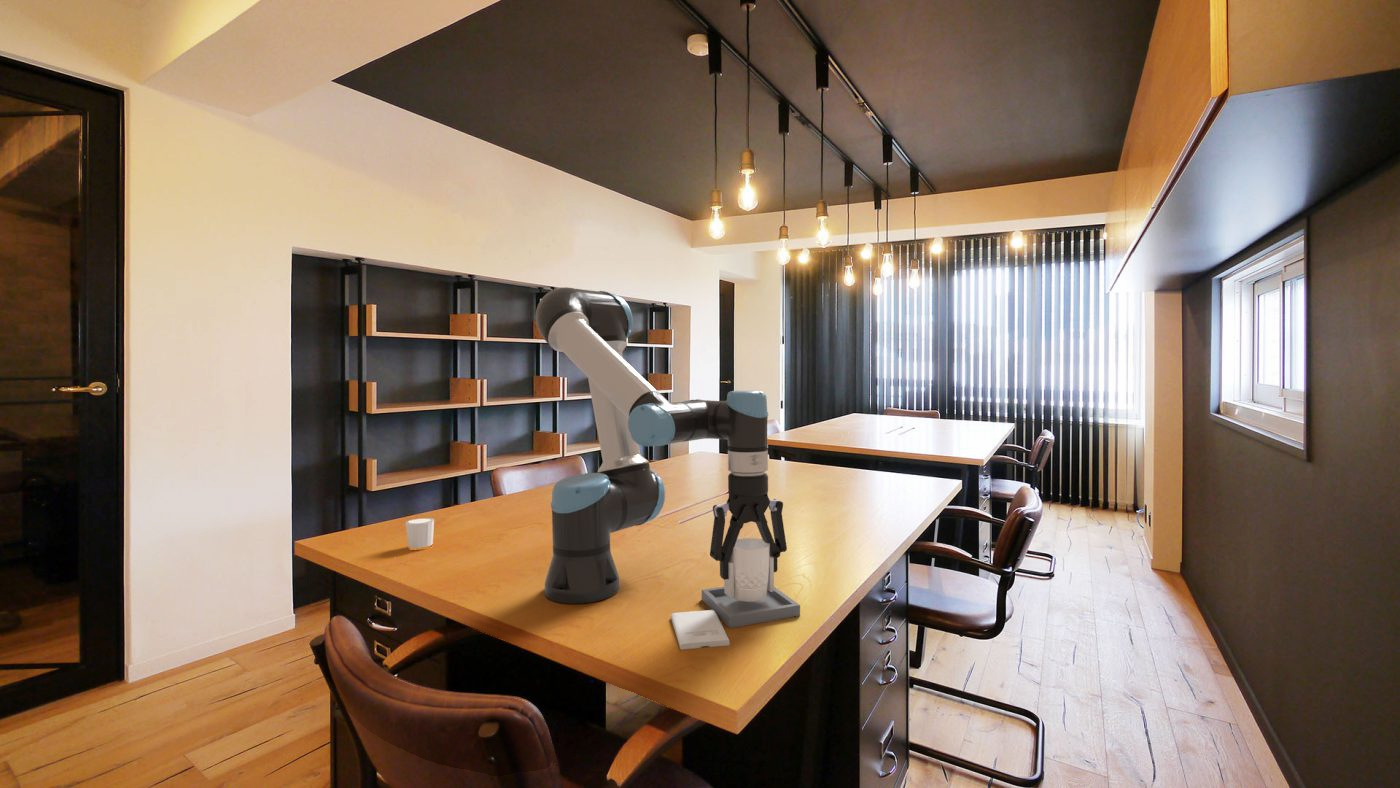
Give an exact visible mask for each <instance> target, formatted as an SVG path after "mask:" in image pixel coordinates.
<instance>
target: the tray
mask: <svg viewBox="0 0 1400 788" xmlns="http://www.w3.org/2000/svg"><path fill="white" fill-rule="evenodd" d="M701 601H702V602H704V603H705V605H706V606H707V607H708V608H709V610H714V611H715V612H716V614H717V616H718V618H719V620H721V621H722V622H723V623H724V624H725V625H726V626H727V627H728V628H729V629H732V628H737V627H743V626H748V625H754V624H755V625H756V624H760V623H768V622H771V621H778V620H779V621H780V620H785V619H790V618H795V617H794V616H796V617H800V616H801V605H800V604H799V603H798V602H796V601H795V600H793V599H792V598H791V597H789V596H788V595H787V594H785V593H784V592H782V591H781V590H779V588H777V587H775V586H774V591H772V592H770V591H769V590H767V597H766V598H765V599H763V600H761V601H756V602H745V601H739V600H737V599H734V598H729V597H728V596H727V595H726V594H725V591H724V586H719V587H713V588H712V587H711V588H704V589H701Z"/></svg>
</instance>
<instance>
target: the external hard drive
mask: <svg viewBox="0 0 1400 788" xmlns="http://www.w3.org/2000/svg"><path fill="white" fill-rule="evenodd" d="M670 620H671V623H672V626H673V630H674V633H675V635H676V639H677V643H678V646H679V649H680V650H691V649H701V648H706V647H708V648H713V647H725V646H730V645H731V643H730V639H729V637H728V635H727V633H726V631H725V629H724V626H723V624H722V622H721V621H720V620H721V619H720V618H719V617H718V616H717V614H716V612H715V611H714V610H711V609H709V610H708V609H707V610H706V609H705V610H694V611H682V612H681V611H680V612H673V613H671V615H670Z"/></svg>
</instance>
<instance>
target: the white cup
mask: <svg viewBox="0 0 1400 788" xmlns="http://www.w3.org/2000/svg"><path fill="white" fill-rule="evenodd" d="M769 554H770V543H768V544H767V543H765V542H764V541H763V539H762V538H754V537H740V538H737V541H736V544H735V546H734V548H733V552H732V555H731V558H730V561H732V562H733V564H734V599H737V600H739V601H745V602H756V601H761V600H763V599H765V598H766V597H767V585H768V584H767V583H768V576H769Z"/></svg>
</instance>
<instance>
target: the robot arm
mask: <svg viewBox="0 0 1400 788" xmlns="http://www.w3.org/2000/svg"><path fill="white" fill-rule="evenodd" d="M535 311H536V312H535V324H536V327H537V330H538V332H539V334H540V336H541V338H543V340H544V341H545V342H546V343H547V344H548V346H550V348H551V349H553V350H554V351H555V352H556V351H557V352H560V353H563V354H565V356H566V357H567V358H569V360H570V361H571V362H572V363H573V364H574V365H576V367H577V368H578V369H580V371H581V372H582V373H583V374H584V375H585V376H586V377H587V379H588V385H589V390H590V391H589V393H590V397H591V402H592V403H591V404H592V408H593V413H594V414H593V415H594V419H595V427H596V430H597V437H598V442H599V443H598V444H599V446H600V453H601V458H602V463H601V465H600V466H599V468H598V469H597V472H586V473H583V474H582V473H579V474H573V475H570V476H568V477H564V478H563V479H560V480H559V481H557V482H556V483H555V484H554V485H553V488H552V489H551V492H552V493H551V502H550V508H551V515H552V516H551V519H552V520H551V525H552V527H551V528H552V558H551V560H550V564H549V567H548V571H547V574H546V577H545V580H544V595H545V597H546V598H547V599H548V598H549V599H548V600H550V601H553V602H556V603H561V604H571V605H573V604H577V605H579V604H587V603H588V604H589V603H594V602H598V601H602V600H605V599H607V598H611V597H612V596H614V595H616V594H617V592H618V591H620V575H619V571H618V570H617V566H616V564H615V560H614V558H613V555H612V551H611V534H613V533H615V532H618V531H622V530H626V529H629V528H632V527H637V526H642V525H644V524H646V523H648V522H651V521H652V520H654V519H656V518H657V516H659V515H660V512H661V511H662V510H663V507H664V505H665V500H666V489H665V485H664V482H663V479H662V477H660V476H659V475H658V473H657V472H655V471H654V470H651V466H650V461H649V460H648V459H646V458H645V457H644V456H642V455H641V451H640V450H641V449H640V447H641V446H642V447H662V446H666V445H670V444H671V445H672V444H676V443H684V442H691V441H692V442H693V441H698V440H704V439H705V440H708V439H710V440H711V439H712V440H723V441H724V440H726V441H727V470H728V472H730V473H729V474H728V475H727V488H728V489H727V490H728V491H727V492H728V498H727V501H726V503H723V504H720V505H718V504H715V505H713V506H712V512H713V516H714V518H713V526H712V534H711V540H710V541H711V543H710V550H709V556H710V558H712V559H714V560H715V561H716V562H719V576H720V578H721V579H722V580H723V581H724V582H723V583H724V586H723V587H724V591H725V594H726V595H727V596H728V597H729V598H734V564H733V562H732V561H730V558H731V555H732V552H733V548H734V546H735V544H736V541H737V539H739V538H738V537H739V535H740V533H741V530H742V528H743V527H744V525H745V524H748V523H750V522H752V523H755V524H756V527H757V529H758V531H759V534H760V537H761V539H762V540H763V541H764V542H765V543H767V544H768V543H770V554H769V576H768V583H767V584H768V585H767V590H769V591H770V592H772V591H774V587H775V580H774V579H775V575H774V574H775V573H778V558H780V556H781V553H786V551H787V550H788V547H787V546H788V545H787V542H786V535H785V534H786V533H785V527H784V519H783V514H782V513H783V509H784V502H783V501H781V500H779V499H776V498H773V499H770V498H769V496H768V492H769V475H768V473H766V472H767V471H768V470H769V461H768V460H769V459H768V458H769V457H768V455H769V452H768V451H769V450H768V420H769V419H768V417H769V411H768V402H767V398H768V397H767V394H766V393H765V392H764V391H762V390H732V391H729V392H728V393H727V395H726V396H727V397H726V400H705V399H697V398H696V399H690V400H689V399H687V400H684V401H677V402H675V401H674V402H672V401H671V402H670V401H669V400H667V398H666V397H665V396H664V395H662V394H661V393H660V392H659V391H658V390H656V388H655V387H654V386H653V385H651V383H649V381H647V380H646V379H645V377H643V376H642V375H641V374H640V373H639V372H638V371H637V370H636V369H635V368H634V367H633V366H632V365H630V363H628V361H626V360H625V359H624V357H623V356H624V355H623V351H624V350H625V349H626V347H627V346H628V342H627V339H629V337H630V335H631V334H632V330H631V329H633V325H634V324H633V323H634V319H633V313H632V310H631V308H630V306H629V304H628V303H627V301H626V300H625V299H624V298H623V297H621V296H619V295H618V294H615V293H611V292H608V291H605V290H604V291H603V290H599V291H596V290H592V289H591V290H588V289H580V288H573V287H566V286H565V287H559V288H555V289H552V290H551V291H549V292H547V293H545V295H544V296H543V297H542V298H541V299H540V301H539V303H538V304H537V307H536V310H535ZM767 509H769V511H770V518H771V526H772V533H773V535H772V533H771V529H770V528H769V525H768V520H767V517H766V515H765V513H766V511H767ZM728 511H729V512H730V514H731V517H730V520H729V526H728V528H727V532H726V534H725V527H726V526H725V525H726V516H727V514H728ZM724 534H725V537H724Z"/></svg>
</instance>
